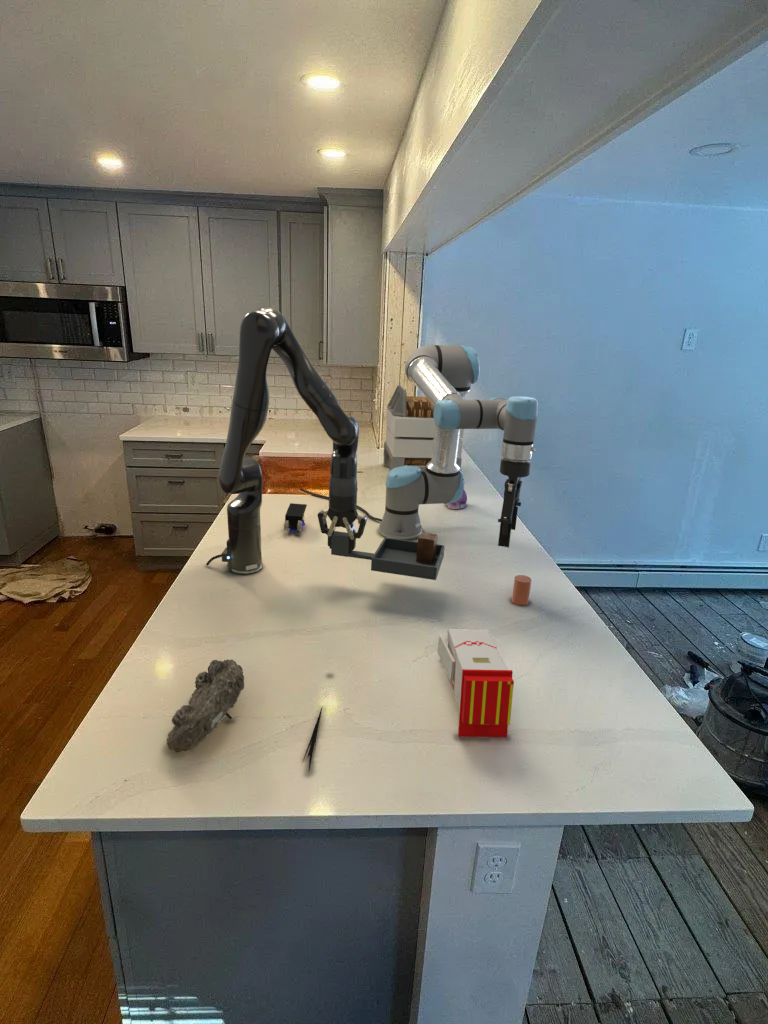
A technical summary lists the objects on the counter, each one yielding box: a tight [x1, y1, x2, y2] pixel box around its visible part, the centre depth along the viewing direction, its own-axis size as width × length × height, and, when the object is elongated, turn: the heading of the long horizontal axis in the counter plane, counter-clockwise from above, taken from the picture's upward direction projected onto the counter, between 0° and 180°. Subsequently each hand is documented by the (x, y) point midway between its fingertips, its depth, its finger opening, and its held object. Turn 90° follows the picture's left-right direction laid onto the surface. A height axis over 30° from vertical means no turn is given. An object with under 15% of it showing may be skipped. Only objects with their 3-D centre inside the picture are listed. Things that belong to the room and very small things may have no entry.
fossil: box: [166, 658, 245, 754], centre depth 106 cm, size 22×10×15 cm
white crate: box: [383, 384, 465, 471], centre depth 268 cm, size 34×33×41 cm
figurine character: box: [283, 502, 308, 536], centre depth 198 cm, size 7×8×15 cm
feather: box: [301, 673, 332, 771], centre depth 108 cm, size 2×28×2 cm
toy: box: [437, 628, 515, 738], centre depth 117 cm, size 12×13×30 cm
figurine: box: [446, 469, 468, 510], centre depth 228 cm, size 9×10×15 cm
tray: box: [330, 530, 446, 581], centre depth 154 cm, size 30×15×6 cm, turn 77°
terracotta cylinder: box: [511, 574, 533, 606], centre depth 156 cm, size 5×5×7 cm
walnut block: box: [416, 531, 438, 564], centre depth 155 cm, size 4×4×7 cm
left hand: (341, 548), depth 157 cm, fingers closed on tray, 5 cm apart
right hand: (506, 537), depth 150 cm, fingers open, 13 cm apart
